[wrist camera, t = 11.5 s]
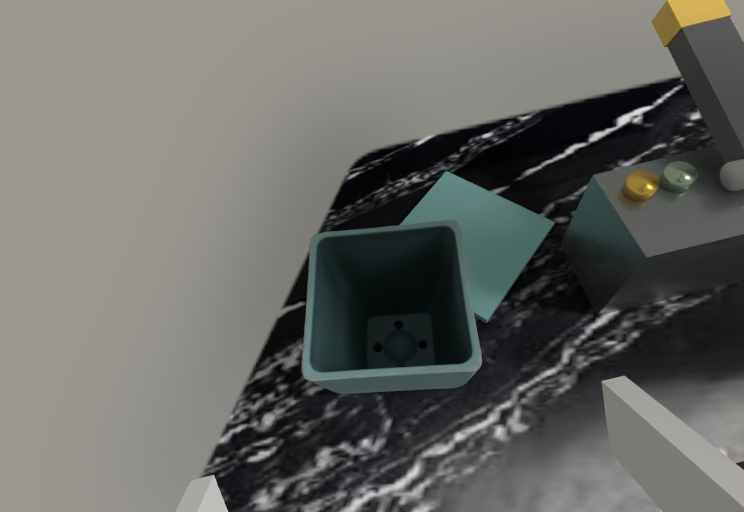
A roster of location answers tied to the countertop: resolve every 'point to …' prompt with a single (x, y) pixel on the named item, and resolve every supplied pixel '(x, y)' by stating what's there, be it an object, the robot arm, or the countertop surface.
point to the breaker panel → (656, 232)
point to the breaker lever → (710, 73)
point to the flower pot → (389, 310)
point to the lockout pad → (485, 236)
